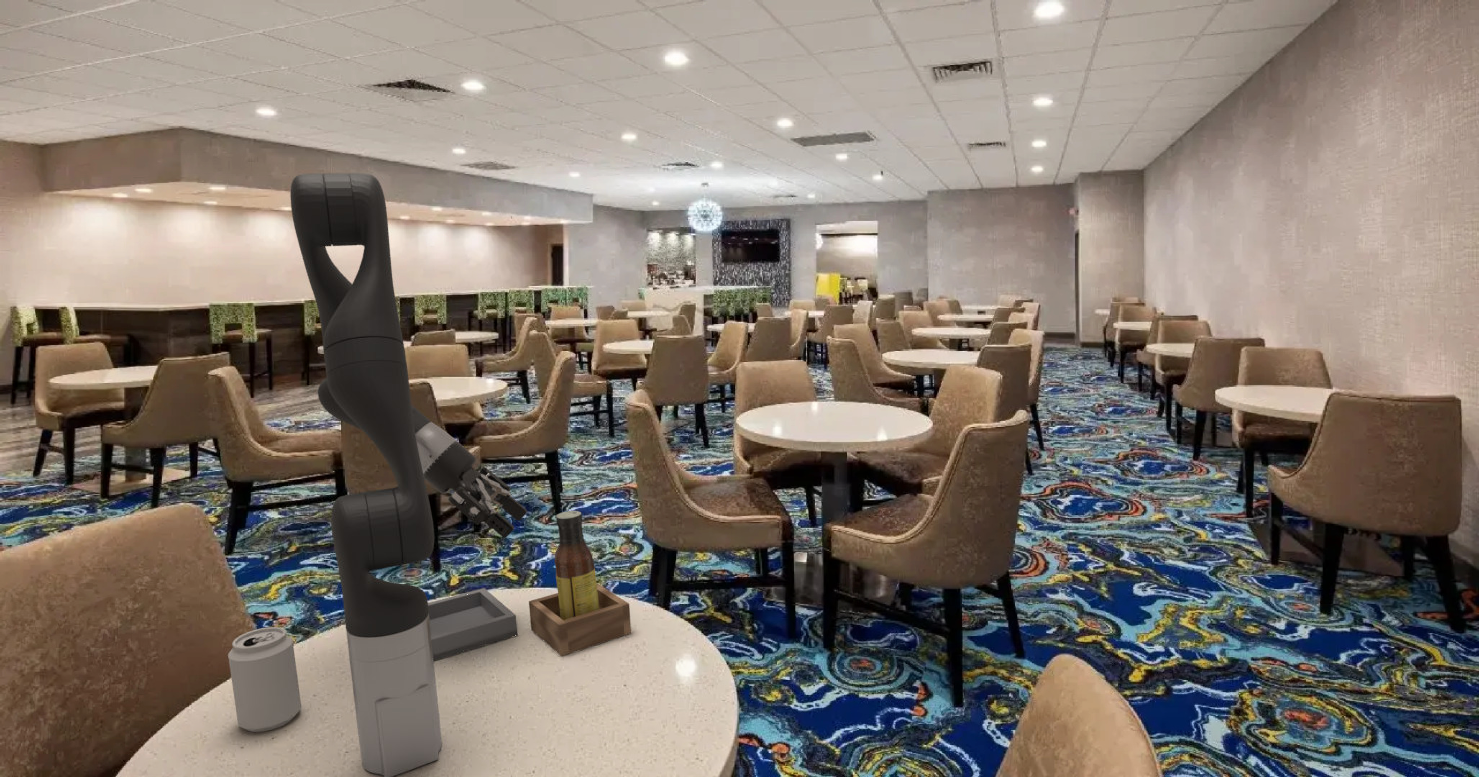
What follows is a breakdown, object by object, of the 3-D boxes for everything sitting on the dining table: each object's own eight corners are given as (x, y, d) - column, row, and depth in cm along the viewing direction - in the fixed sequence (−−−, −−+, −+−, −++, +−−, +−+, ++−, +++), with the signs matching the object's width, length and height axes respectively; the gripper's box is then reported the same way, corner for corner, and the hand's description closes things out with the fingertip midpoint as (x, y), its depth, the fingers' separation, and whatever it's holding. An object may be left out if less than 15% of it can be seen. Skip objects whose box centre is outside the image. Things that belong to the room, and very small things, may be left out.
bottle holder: (631, 633, 132) (629, 603, 132) (561, 656, 126) (559, 625, 125) (597, 610, 142) (595, 582, 141) (531, 630, 135) (528, 601, 134)
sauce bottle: (605, 623, 137) (597, 507, 134) (595, 640, 130) (586, 519, 127) (566, 623, 137) (558, 508, 134) (555, 640, 131) (545, 520, 128)
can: (241, 714, 113) (230, 631, 111) (303, 700, 116) (293, 619, 114) (234, 741, 106) (222, 653, 104) (300, 725, 109) (289, 640, 107)
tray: (517, 635, 133) (515, 615, 133) (422, 664, 125) (420, 643, 124) (485, 607, 145) (484, 588, 145) (396, 631, 137) (394, 611, 136)
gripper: (437, 450, 122) (521, 521, 124) (467, 431, 136) (542, 495, 138) (405, 486, 122) (489, 557, 124) (437, 463, 136) (512, 527, 138)
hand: (517, 524), depth 131 cm, fingers open, 8 cm apart
